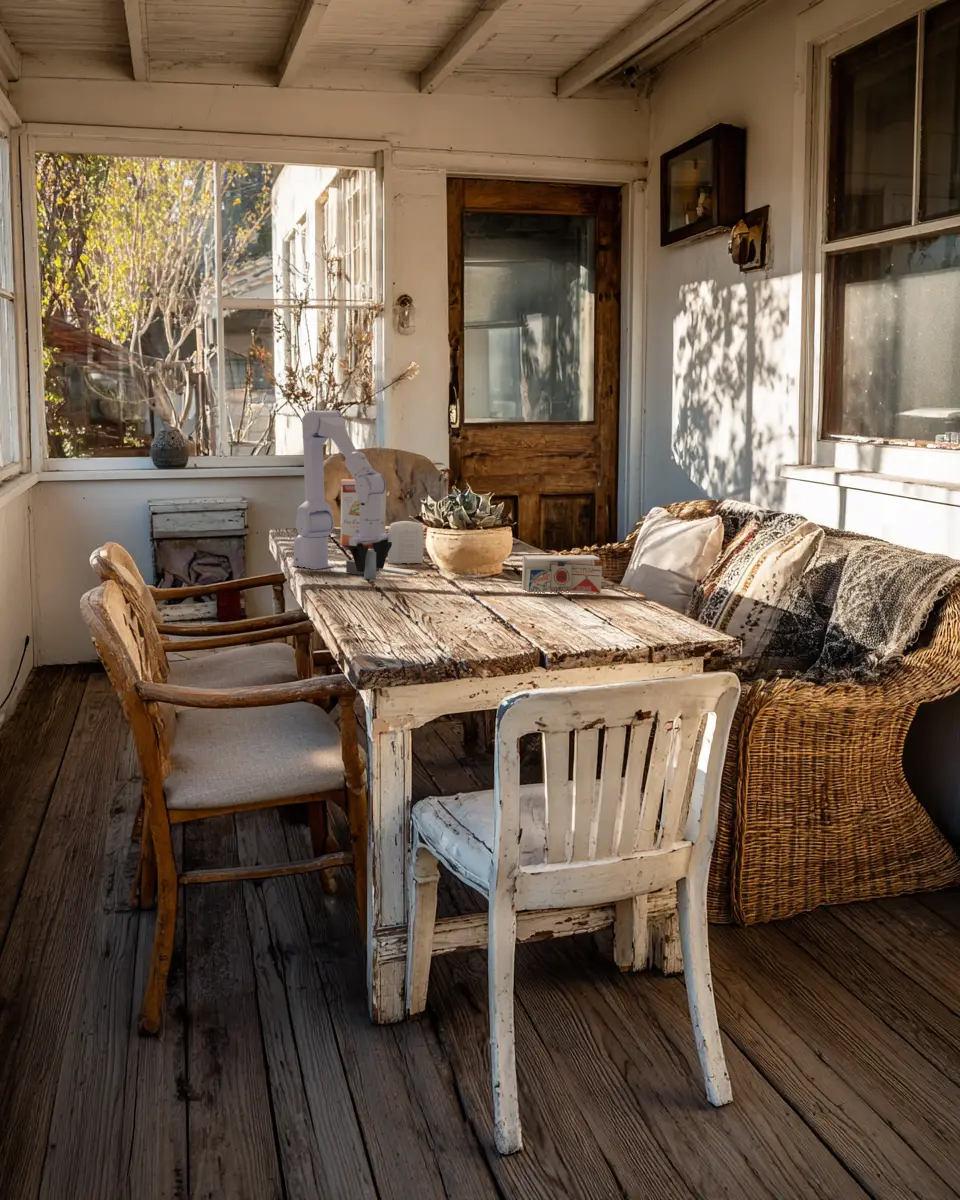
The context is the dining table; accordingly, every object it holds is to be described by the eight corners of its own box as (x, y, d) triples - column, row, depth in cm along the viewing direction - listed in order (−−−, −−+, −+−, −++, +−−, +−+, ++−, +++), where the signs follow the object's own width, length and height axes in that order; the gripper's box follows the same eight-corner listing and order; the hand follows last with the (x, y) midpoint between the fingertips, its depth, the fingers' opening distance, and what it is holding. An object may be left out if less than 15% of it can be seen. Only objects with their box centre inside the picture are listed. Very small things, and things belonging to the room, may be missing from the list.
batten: (365, 568, 331) (365, 566, 331) (375, 566, 334) (375, 564, 334) (409, 575, 321) (409, 573, 321) (418, 573, 324) (418, 571, 324)
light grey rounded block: (422, 562, 344) (423, 520, 342) (424, 564, 340) (424, 522, 338) (387, 562, 343) (387, 520, 340) (388, 564, 339) (388, 522, 336)
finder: (346, 573, 324) (346, 560, 323) (365, 570, 330) (366, 557, 329) (359, 575, 321) (359, 562, 320) (379, 572, 327) (379, 559, 326)
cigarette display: (527, 595, 296) (528, 558, 294) (521, 591, 301) (522, 555, 300) (602, 594, 300) (604, 558, 298) (596, 590, 305) (598, 554, 304)
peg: (361, 578, 315) (361, 549, 313) (369, 576, 317) (369, 548, 316) (370, 579, 313) (370, 550, 312) (378, 578, 316) (378, 549, 314)
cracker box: (342, 546, 372) (342, 480, 368) (340, 543, 378) (340, 478, 374) (386, 546, 375) (386, 480, 371) (383, 543, 380) (384, 478, 377)
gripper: (363, 523, 304) (363, 574, 307) (399, 518, 316) (399, 568, 318) (343, 520, 308) (343, 571, 311) (379, 516, 320) (379, 565, 322)
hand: (370, 569), depth 315 cm, fingers open, 7 cm apart
